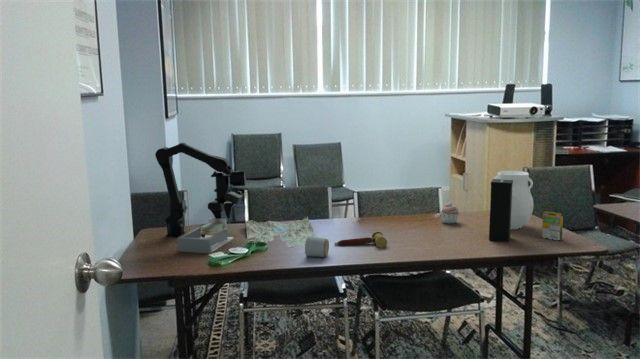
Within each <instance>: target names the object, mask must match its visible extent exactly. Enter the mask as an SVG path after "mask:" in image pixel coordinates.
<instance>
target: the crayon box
mask: <svg viewBox="0 0 640 359" xmlns="http://www.w3.org/2000/svg"><path fill="white" fill-rule="evenodd" d="M552 214H553V215H552ZM563 223H564V216H562V213H560V212H553V211H545V210H544V211H543V213H542V228H541V229H542V230H541V238H542V237H543V238H542V239H546V238H548V239H547V240H552V239H553V241H554V240H555V241H558V240H560V241H562V240H561V239H563V227H564V226H563V225H564V224H563Z"/></svg>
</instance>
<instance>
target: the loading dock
mask: <svg viewBox="0 0 640 359" xmlns="http://www.w3.org/2000/svg"><path fill="white" fill-rule="evenodd" d="M201 231H202V228H201V227H196V228H194V229H192V230H190V231H188V232H185V234H183V235H181V236H179V237H177V250H178V252H184V253H186V252H187V253H196V254H197V253H198V254H199V253H200V254H211V253H213V252H214V251H216V250H218V249H220V247H222V246H223V245H225V244H227V243H229V242H230V241H232V240H233V239H234V237H233V236H228V229H227V230H226V229H224V230H222V231H220V232H218V233H217V234H215V235H207V234H205V237H204V238H202V237H201V234H200V232H201Z"/></svg>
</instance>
